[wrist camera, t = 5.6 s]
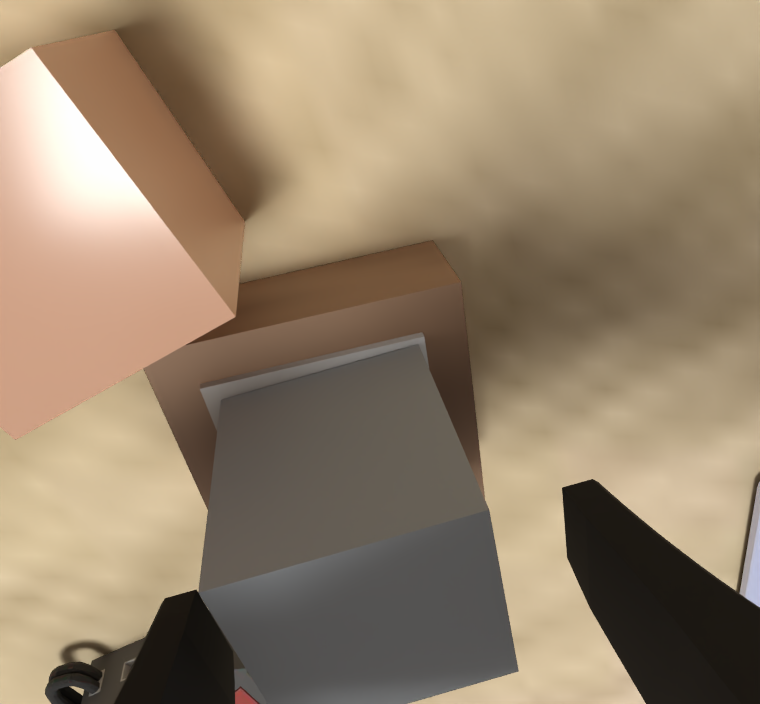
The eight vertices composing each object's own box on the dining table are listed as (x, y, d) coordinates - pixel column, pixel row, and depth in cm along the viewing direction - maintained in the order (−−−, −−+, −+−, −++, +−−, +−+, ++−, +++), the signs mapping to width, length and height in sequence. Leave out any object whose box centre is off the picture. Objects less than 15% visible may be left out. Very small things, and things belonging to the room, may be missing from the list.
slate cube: (418, 344, 13) (488, 509, 9) (450, 487, 16) (518, 671, 11) (221, 399, 13) (198, 593, 9) (283, 534, 16) (289, 737, 11)
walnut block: (456, 440, 19) (488, 514, 16) (240, 493, 19) (235, 578, 16) (428, 234, 15) (463, 285, 13) (159, 295, 15) (136, 361, 12)
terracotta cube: (245, 221, 14) (235, 316, 10) (87, 311, 15) (15, 440, 10) (115, 29, 12) (31, 47, 8) (-66, 144, 12) (-241, 222, 8)
